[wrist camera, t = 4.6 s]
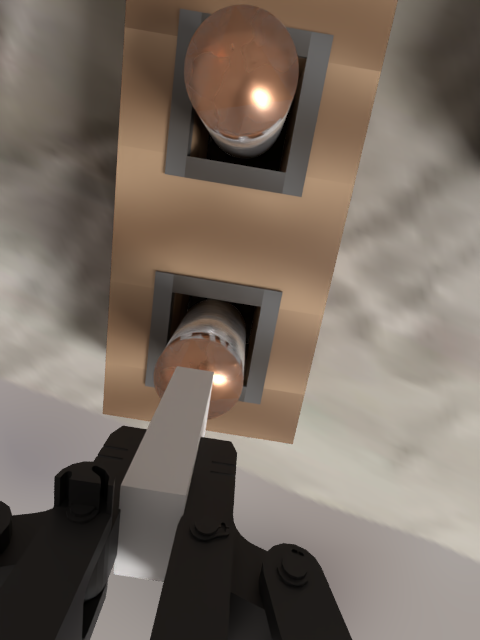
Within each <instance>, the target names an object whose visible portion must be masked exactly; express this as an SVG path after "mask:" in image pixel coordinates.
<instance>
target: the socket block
mask: <svg viewBox="0 0 480 640" xmlns="http://www.w3.org/2000/svg"><path fill="white" fill-rule="evenodd" d="M397 2H398V0H126V12H125V29H124V47H123V65H122V83H121V100H120V118H119V136H118V153H117V171H116V189H115V207H114V224H113V242H112V260H111V277H110V295H109V313H108V331H107V348H106V366H105V384H104V401H103V414H107V415H113V416H120V417H126V418H132V419H138V420H145V421H151V420H152V418H153V416H154V414H155V412H156V409H157V407H158V405H159V403H160V401H161V399H160V398H159V396H158V394H157V392H156V389H155V386H154V369H155V365H156V363H157V361H158V359H159V357H160V355H161V354H162V352H163V351H164V349H165V347H166V346H167V344H168V342H169V341H170V339H171V338H172V336H173V334H174V333H175V331H176V329H177V328H178V326H179V325H180V323H181V321H182V320H183V318H184V317H185V315H186V313H187V310H188V302H189V295H193V296H199V297H205V298H211V299H217V300H223V301H229V302H235V303H241V304H247V305H253V306H255V309H254V315H253V320H252V326H251V331H250V337H249V343H248V344H245V361H244V377H243V388H242V392H241V395H240V397H239V399H238V401H237V402H236V404H235V405H234V406H233V407H232V408H231V409H230V410H229V411H228V412H226V413H225V414H223V415H221V416H219V417H216V418H213V419H208V420H207V424H206V430H208V431H214V432H220V433H226V434H233V435H239V436H245V437H252V438H258V439H264V440H270V441H277V442H283V443H289V444H293V440H294V436H295V432H296V428H297V423H298V419H299V415H300V411H301V406H302V402H303V398H304V394H305V390H306V385H307V381H308V377H309V373H310V369H311V364H312V360H313V356H314V352H315V347H316V343H317V339H318V335H319V331H320V326H321V322H322V318H323V314H324V309H325V305H326V301H327V297H328V293H329V288H330V284H331V280H332V276H333V272H334V267H335V263H336V259H337V255H338V250H339V246H340V242H341V238H342V234H343V229H344V225H345V221H346V217H347V213H348V208H349V204H350V200H351V196H352V191H353V187H354V183H355V179H356V175H357V170H358V166H359V162H360V158H361V153H362V149H363V145H364V141H365V137H366V132H367V128H368V124H369V120H370V116H371V111H372V107H373V103H374V99H375V94H376V90H377V86H378V82H379V78H380V73H381V69H382V65H383V61H384V56H385V52H386V48H387V44H388V40H389V35H390V31H391V27H392V23H393V19H394V14H395V10H396V6H397ZM240 4H245V5H252V6H256V7H259V8H262V9H264V10H266V11H268V12H269V13H271V14H273V15H274V16H275V17H276V18H277V19H278V20H279V21H280V22H281V23H282V24H283V25H284V26H285V28H286V29H287V31H288V32H289V34H290V36H291V38H292V40H293V42H294V45H295V48H296V52H297V56H298V64H299V76H298V84H297V88H296V92H295V95H294V97H293V100H292V103H291V107H290V113H289V118H288V124H287V130H286V135H285V141H284V146H283V152H282V158H281V163H280V169H279V172H278V171H272V170H266V169H261V168H255V167H249V166H243V165H237V164H231V163H225V162H219V161H213V160H207V159H206V155H207V147H208V139H209V131H208V130H207V128H206V127H205V125H204V123H203V122H202V120H201V119H200V117H199V115H198V114H197V112H196V110H195V109H194V107H193V105H192V103H191V101H190V99H189V96H188V93H187V90H186V85H185V78H184V63H185V57H186V53H187V49H188V46H189V43H190V41H191V39H192V37H193V35H194V33H195V32H196V30H197V29H198V27H199V26H200V25H201V24H202V23H203V22H204V21H205V20H206V18H208V17H209V16H210V15H212V14H213V13H215V12H216V11H218V10H220V9H222V8H225V7H228V6H232V5H240Z"/></svg>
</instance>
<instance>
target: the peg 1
mask: <svg viewBox="0 0 480 640" xmlns="http://www.w3.org/2000/svg"><path fill="white" fill-rule="evenodd" d="M298 76H299V64H298V56H297V52H296V48H295V45H294V42H293V40H292V38H291V36H290V34H289V32H288V31H287V29H286V28H285V26H284V25H283V24H282V23H281V22H280V21H279V20H278V19H277V18H276V17H275V16H274V15H273V14H271V13H269V12H268V11H266V10H264V9H262V8H259V7H256V6H252V5H245V4H240V5H232V6H228V7H225V8H222V9H220V10H218V11H216V12H215V13H213V14H212V15H210V16H209V17H208V18H206V20H205V21H204V22H203V23H202V24H201V25H200V26H199V27H198V29H197V30H196V32H195V33H194V35H193V37H192V39H191V41H190V43H189V46H188V49H187V53H186V57H185V63H184V78H185V85H186V90H187V93H188V96H189V99H190V101H191V103H192V105H193V107H194V109H195V110H196V112H197V114H198V115H199V117H200V119H201V120H202V122H203V123H204V125H205V127H206V128H207V130H208V131H209V133H210V135H211V136H212V138H213V140H214V141H215V143H216V144H217V145H218V147H219V148H221V149H222V150H223V151H224V152H225V153H227V154H229V155H230V156H233V157H236V158H241V159H250V158H254V157H257V156H260V155H262V154H264V153H265V152H266V151H268V150H269V149H270V148H271V147H272V146H273V145H274V143H275V142H276V140H277V139H278V137H279V135H280V132H281V130H282V127H283V124H284V122H285V119H286V116H287V113H288V111H289V108H290V105H291V103H292V100H293V97H294V95H295V92H296V88H297V84H298Z"/></svg>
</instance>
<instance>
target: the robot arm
mask: <svg viewBox="0 0 480 640" xmlns="http://www.w3.org/2000/svg"><path fill="white" fill-rule="evenodd" d="M213 378H214V372H211V371H205V370H198V369H192V368H186V367H180V366H177V367H176V369H175V371H174V373H173V375H172V378H171V380H170V382H169V384H168V386H167V388H166V390H165V392H164V395H163V397H162V399H161V401H160V403H159V405H158V407H157V409H156V412H155V414H154V416H153V418H152V420H151V422H150V424H149V426H148V429H141V428H134V427H128V426H122V427H120V428H119V429H117V430H116V431H114V432H113V433H112V434H110V436H109V438H108V439H107V441H106V442H105V444H104V446H103V448H102V449H101V450H100V452H99V454H98V456H97V457H96V458H95V460H94V462H80V463H76V464H72V465H70V466H68V467H66V468H64V469H62V470H61V471H60V472H59V473H58V474H57V475H56V476H55V483H54V484H55V485H54V490H55V491H54V507H53V509H50V510H47V511H44V512H38V513H32V514H22V515H13V516H12V514H11V510H10V507H9V506H8V505H6V504H5V503H3V502H2V501H0V640H90V638H91V635H92V633H93V630H94V627H95V624H96V622H97V619H98V616H99V613H100V611H101V608H102V606H103V603H104V600H105V597H106V592H107V582H108V577H109V575H110V572H111V569H112V567H113V564H114V562H115V565H114V574H116V575H122V576H129V577H135V578H142V579H149V580H155V581H162V582H164V583H163V588H162V592H161V596H160V601H159V604H158V608H157V613H156V617H155V621H154V625H153V629H152V633H151V638H150V640H352V638H351V636H350V633H349V631H348V629H347V626H346V624H345V622H344V619H343V617H342V615H341V612H340V610H339V608H338V605H337V603H336V601H335V598H334V596H333V594H332V591H331V589H330V587H329V584H328V582H327V580H326V577H325V575H324V573H323V571H322V568H321V566H320V565H319V563H318V562H317V560H316V559H315V557H314V556H312V555H311V554H310V553H309V552H308V551H307V550H305V549H303V548H301V547H299V546H297V545H294V544H285V543H283V544H279V545H275V546H273V547H272V548H271V549H270V550H269V551H266V550H264V549H261V548H259V547H257V546H255V545H253V544H251V543H250V542H248V541H247V540H246V539H244V537H242V536H241V535H240V533H239V532H238V530H237V529H236V526H235V524H234V521H233V506H234V491H235V475H236V460H237V452H236V450H235V448H234V446H233V444H232V442H230V441H224V440H217V439H211V438H205V437H204V435H205V430H206V424H207V417H208V410H209V404H210V397H211V391H212V384H213Z"/></svg>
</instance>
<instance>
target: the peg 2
mask: <svg viewBox="0 0 480 640" xmlns="http://www.w3.org/2000/svg"><path fill="white" fill-rule="evenodd" d="M245 344H246V324H245V321H244V318H243V316H242V314H241V313H240V312H239V310H238V309H237V308H236V307H235V306H233V305H232V304H230V303H228V302H226V301H223V300H217V299H207V300H203V301H200V302H198V303H197V304H195V305H194V306H192V307H191V308H190V309H189V310H188V312H187V313H186V315H185V317H184V318H183V320H182V321H181V323H180V325H179V326H178V328H177V329H176V331H175V333H174V334H173V336H172V338H171V339H170V341H169V342H168V344H167V346H166V347H165V349H164V351H163V352H162V354H161V355H160V357H159V359H158V361H157V363H156V365H155V369H154V386H155V389H156V392H157V394H158V396H159V398H160V399H162V397H163V395H164V392H165V390H166V388H167V386H168V384H169V382H170V380H171V378H172V375H173V373H174V371H175V369H176V367H177V366H180V367H186V368H192V369H198V370H205V371H211V372H214V378H213V384H212V391H211V397H210V404H209V410H208V417H207V420H208V419H213V418H216V417H219V416H221V415H223V414H225V413H226V412H228V411H229V410H230V409H231V408H232V407H233V406H234V405H235V404H236V402H237V401H238V399H239V397H240V395H241V392H242V388H243V377H244V361H245Z"/></svg>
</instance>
